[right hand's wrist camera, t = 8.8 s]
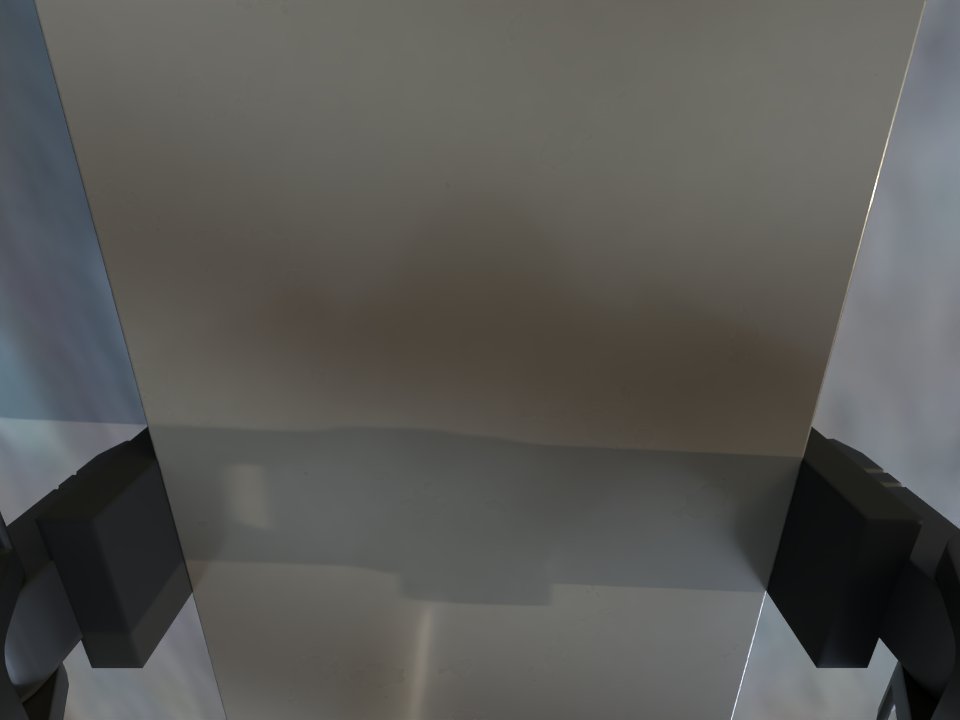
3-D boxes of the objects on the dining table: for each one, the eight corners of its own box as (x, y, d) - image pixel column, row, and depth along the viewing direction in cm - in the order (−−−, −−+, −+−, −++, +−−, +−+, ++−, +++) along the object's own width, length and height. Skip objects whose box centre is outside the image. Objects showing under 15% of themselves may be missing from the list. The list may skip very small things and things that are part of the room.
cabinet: (298, -117, 14) (-204, -862, 4) (661, -117, 14) (1162, -858, 4) (355, 436, 21) (226, 727, 10) (604, 436, 21) (731, 727, 10)
